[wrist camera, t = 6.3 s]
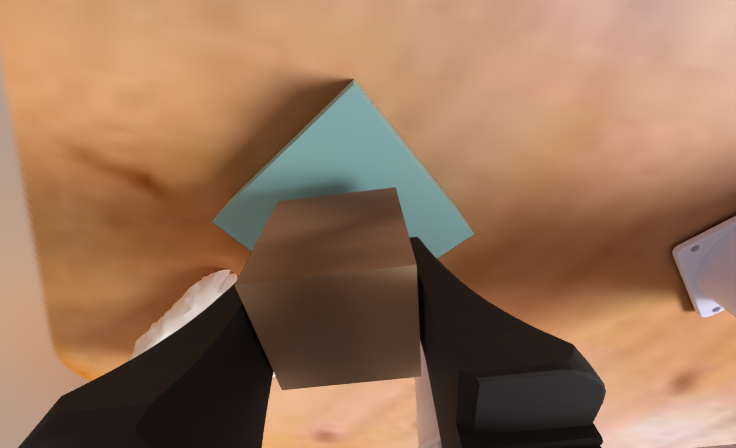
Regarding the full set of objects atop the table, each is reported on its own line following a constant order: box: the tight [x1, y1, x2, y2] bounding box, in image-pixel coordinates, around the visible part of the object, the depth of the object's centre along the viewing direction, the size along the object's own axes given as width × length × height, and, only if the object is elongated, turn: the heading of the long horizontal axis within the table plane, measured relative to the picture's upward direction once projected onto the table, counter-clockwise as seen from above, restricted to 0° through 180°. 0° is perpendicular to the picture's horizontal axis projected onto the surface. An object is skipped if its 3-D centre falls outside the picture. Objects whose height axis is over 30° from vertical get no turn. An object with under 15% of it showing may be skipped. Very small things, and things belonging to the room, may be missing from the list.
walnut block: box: [235, 187, 421, 390], centre depth 11 cm, size 5×5×5 cm
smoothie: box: [415, 341, 442, 448], centre depth 15 cm, size 6×6×14 cm
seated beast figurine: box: [128, 269, 276, 377], centre depth 16 cm, size 10×9×12 cm
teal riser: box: [212, 79, 474, 258], centre depth 16 cm, size 9×9×2 cm
